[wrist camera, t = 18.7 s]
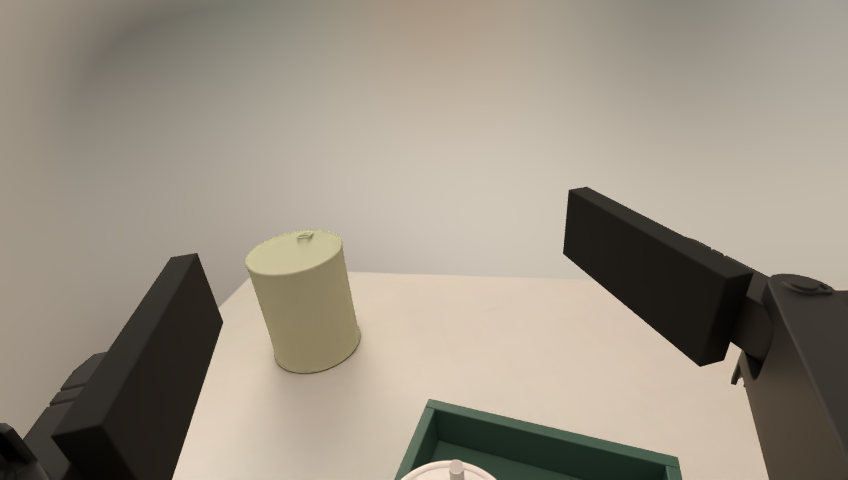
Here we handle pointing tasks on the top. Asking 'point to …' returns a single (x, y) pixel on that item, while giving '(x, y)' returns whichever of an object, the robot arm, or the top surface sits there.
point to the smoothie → (448, 472)
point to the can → (305, 299)
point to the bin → (526, 449)
